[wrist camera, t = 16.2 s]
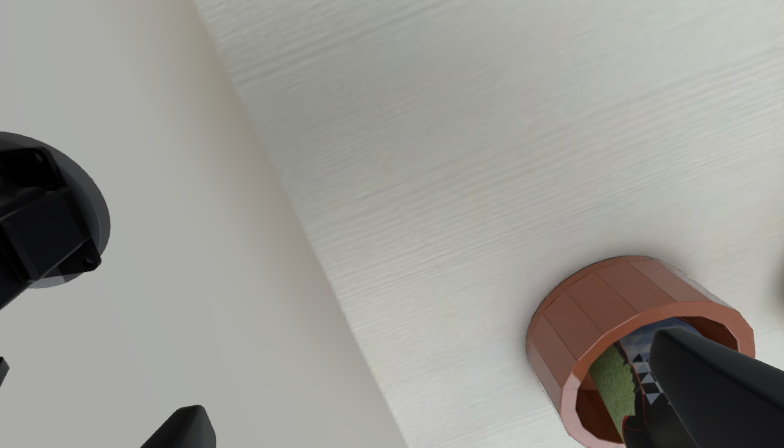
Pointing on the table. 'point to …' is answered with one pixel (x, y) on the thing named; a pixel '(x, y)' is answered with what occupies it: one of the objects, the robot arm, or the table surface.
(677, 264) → the table surface
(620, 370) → the beverage can
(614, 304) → the bowl
